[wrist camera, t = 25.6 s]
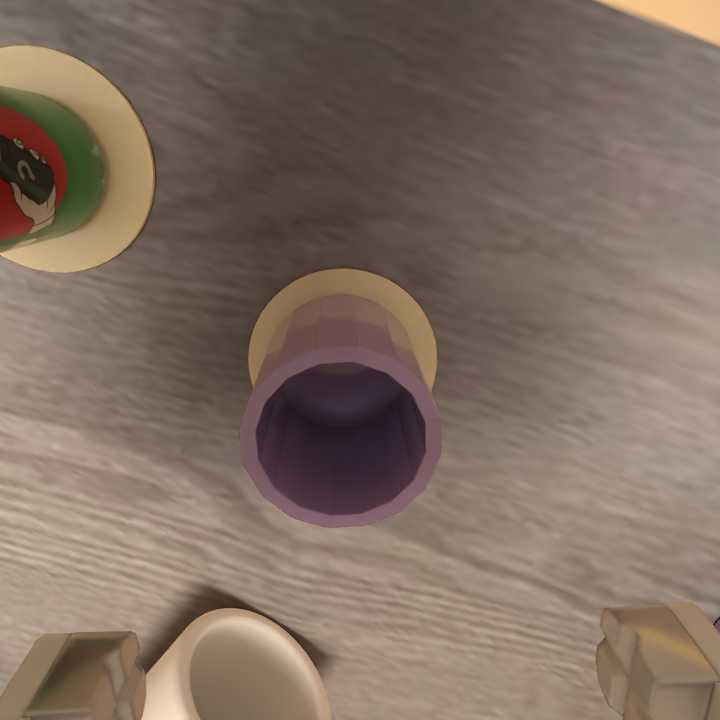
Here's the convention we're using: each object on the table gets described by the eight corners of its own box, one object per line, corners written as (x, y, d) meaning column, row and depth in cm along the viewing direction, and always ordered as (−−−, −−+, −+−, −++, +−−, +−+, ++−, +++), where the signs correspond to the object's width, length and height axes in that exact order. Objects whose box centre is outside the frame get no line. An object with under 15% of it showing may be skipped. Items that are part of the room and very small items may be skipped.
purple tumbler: (293, 272, 23) (274, 318, 16) (436, 322, 24) (473, 385, 17) (250, 407, 25) (216, 497, 18) (384, 449, 26) (398, 549, 19)
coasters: (-53, 11, 20) (-59, 9, 20) (501, 208, 23) (504, 209, 22) (-82, 328, 24) (-87, 330, 23) (399, 464, 26) (399, 468, 26)
